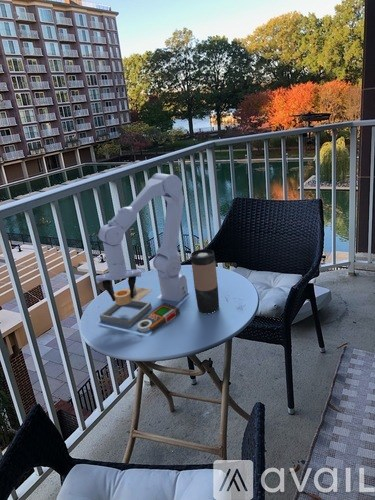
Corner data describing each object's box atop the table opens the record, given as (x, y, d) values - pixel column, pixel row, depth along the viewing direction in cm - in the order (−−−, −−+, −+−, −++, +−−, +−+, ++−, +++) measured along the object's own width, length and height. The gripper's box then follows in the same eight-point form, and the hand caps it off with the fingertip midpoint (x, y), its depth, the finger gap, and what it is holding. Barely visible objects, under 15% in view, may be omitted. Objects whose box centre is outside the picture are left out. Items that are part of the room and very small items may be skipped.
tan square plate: (152, 291, 140) (151, 281, 138) (137, 304, 132) (135, 293, 130) (131, 287, 145) (129, 278, 143) (115, 299, 137) (113, 290, 135)
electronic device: (132, 324, 116) (165, 301, 125) (134, 331, 117) (166, 308, 127) (146, 330, 111) (179, 306, 121) (148, 338, 113) (181, 313, 122)
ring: (131, 303, 121) (130, 295, 120) (115, 306, 121) (113, 298, 119) (132, 293, 128) (131, 285, 127) (116, 295, 127) (115, 288, 126)
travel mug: (224, 306, 123) (219, 251, 116) (210, 316, 118) (203, 260, 111) (207, 300, 128) (201, 247, 121) (192, 310, 123) (185, 255, 116)
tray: (151, 308, 127) (150, 302, 126) (130, 328, 117) (129, 321, 116) (123, 303, 133) (122, 297, 132) (101, 321, 123) (99, 315, 122)
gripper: (138, 253, 122) (145, 289, 127) (94, 259, 121) (103, 295, 126) (138, 261, 115) (144, 299, 120) (91, 268, 115) (100, 306, 120)
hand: (123, 298), depth 123 cm, fingers closed on ring, 5 cm apart
